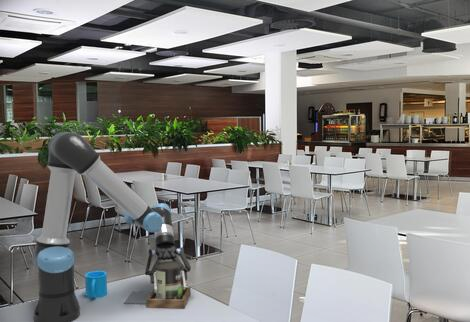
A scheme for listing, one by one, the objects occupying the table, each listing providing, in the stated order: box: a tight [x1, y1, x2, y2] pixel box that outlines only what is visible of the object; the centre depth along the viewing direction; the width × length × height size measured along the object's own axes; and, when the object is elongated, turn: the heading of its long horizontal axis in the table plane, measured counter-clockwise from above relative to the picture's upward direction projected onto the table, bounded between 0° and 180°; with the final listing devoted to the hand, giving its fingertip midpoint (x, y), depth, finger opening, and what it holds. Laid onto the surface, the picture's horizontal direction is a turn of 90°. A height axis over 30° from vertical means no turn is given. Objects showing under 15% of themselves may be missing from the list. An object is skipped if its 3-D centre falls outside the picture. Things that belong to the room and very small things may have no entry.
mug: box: [84, 270, 108, 299], centre depth 179 cm, size 12×8×8 cm
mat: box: [123, 290, 153, 305], centre depth 177 cm, size 9×12×1 cm
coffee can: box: [155, 260, 184, 300], centre depth 174 cm, size 10×10×14 cm
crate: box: [145, 286, 191, 310], centre depth 174 cm, size 14×14×3 cm
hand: (170, 289), depth 171 cm, fingers closed on coffee can, 10 cm apart
